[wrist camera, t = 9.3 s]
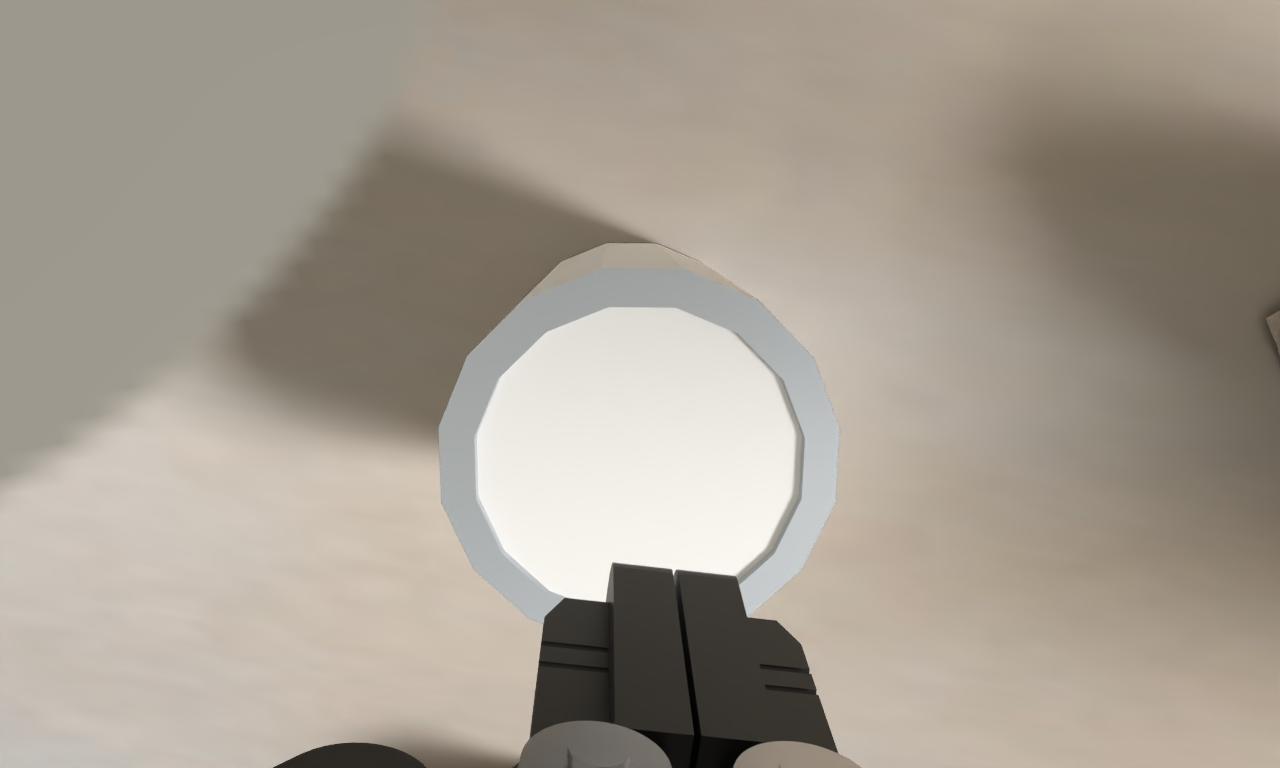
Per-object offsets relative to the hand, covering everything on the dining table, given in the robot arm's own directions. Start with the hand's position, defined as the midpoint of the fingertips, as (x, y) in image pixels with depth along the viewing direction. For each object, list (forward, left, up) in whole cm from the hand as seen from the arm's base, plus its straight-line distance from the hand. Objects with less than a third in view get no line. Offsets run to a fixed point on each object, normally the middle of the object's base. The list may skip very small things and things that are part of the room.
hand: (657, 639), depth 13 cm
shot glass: (0, 0, -13) cm, 13 cm away
